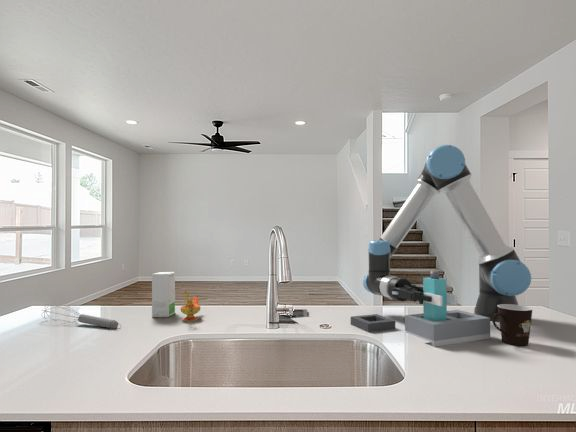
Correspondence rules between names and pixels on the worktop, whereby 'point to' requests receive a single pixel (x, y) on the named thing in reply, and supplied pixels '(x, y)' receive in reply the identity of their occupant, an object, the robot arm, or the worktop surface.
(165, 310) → the skincare box
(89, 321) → the kitchen whisk
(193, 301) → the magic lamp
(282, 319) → the handgun
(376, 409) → the worktop surface
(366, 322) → the frame
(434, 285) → the plug
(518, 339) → the coffee mug
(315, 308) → the worktop surface
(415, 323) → the block
